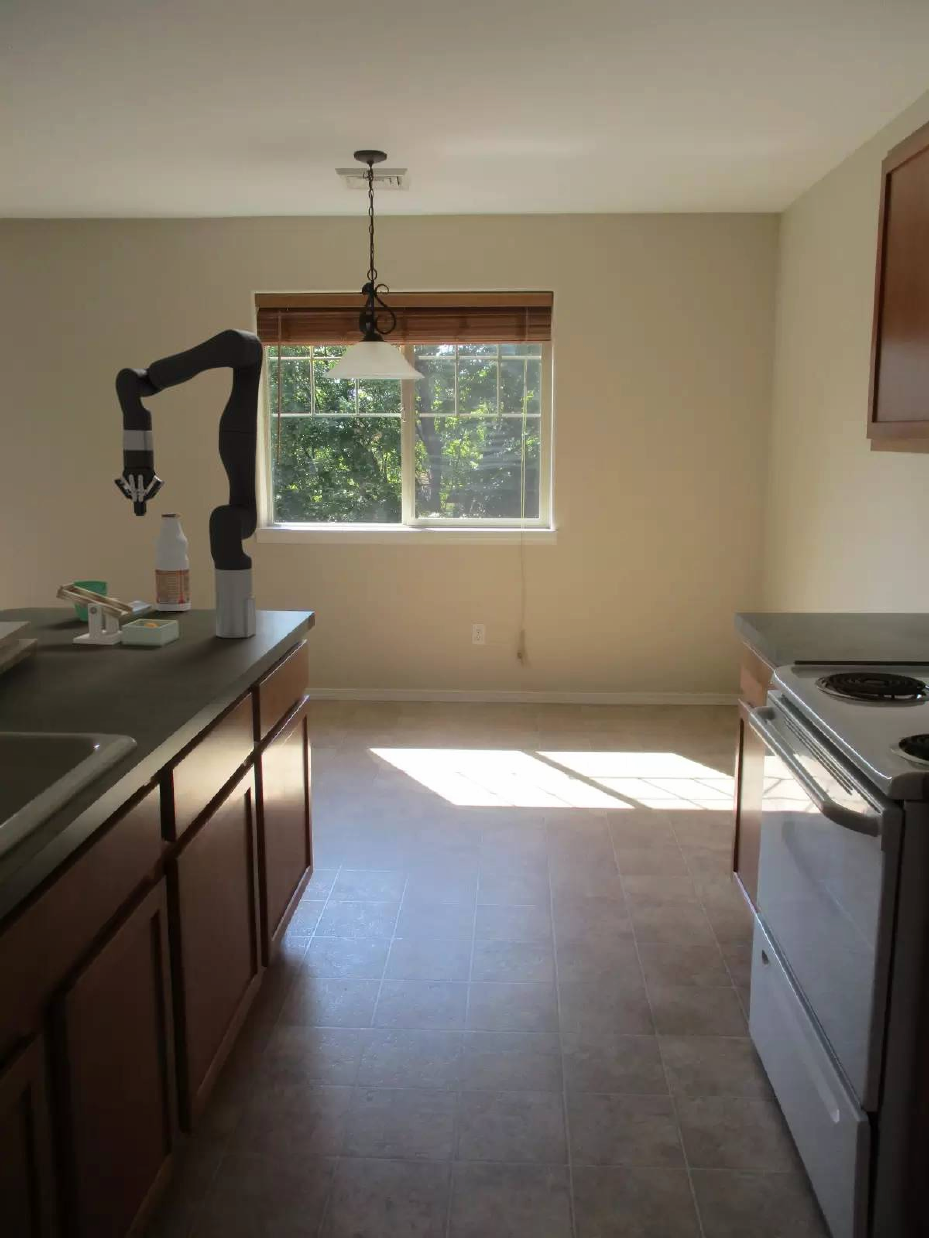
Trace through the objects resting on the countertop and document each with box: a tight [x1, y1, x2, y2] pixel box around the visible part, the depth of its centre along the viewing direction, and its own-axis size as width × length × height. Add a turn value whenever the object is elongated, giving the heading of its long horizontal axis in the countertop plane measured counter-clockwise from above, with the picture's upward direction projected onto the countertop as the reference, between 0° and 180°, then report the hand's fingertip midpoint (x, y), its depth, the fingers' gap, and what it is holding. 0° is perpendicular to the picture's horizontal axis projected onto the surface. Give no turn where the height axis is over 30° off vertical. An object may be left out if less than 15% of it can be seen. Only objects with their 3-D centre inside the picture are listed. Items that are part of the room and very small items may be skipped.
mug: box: [72, 580, 109, 622], centre depth 275 cm, size 15×10×10 cm
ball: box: [144, 623, 158, 627], centre depth 247 cm, size 4×4×4 cm
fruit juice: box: [154, 512, 191, 612], centre depth 289 cm, size 9×9×28 cm
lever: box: [56, 582, 153, 620], centre depth 252 cm, size 17×17×3 cm
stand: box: [72, 597, 122, 646], centre depth 248 cm, size 10×12×10 cm
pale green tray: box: [121, 618, 180, 647], centre depth 247 cm, size 10×10×4 cm
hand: (140, 515), depth 262 cm, fingers closed
